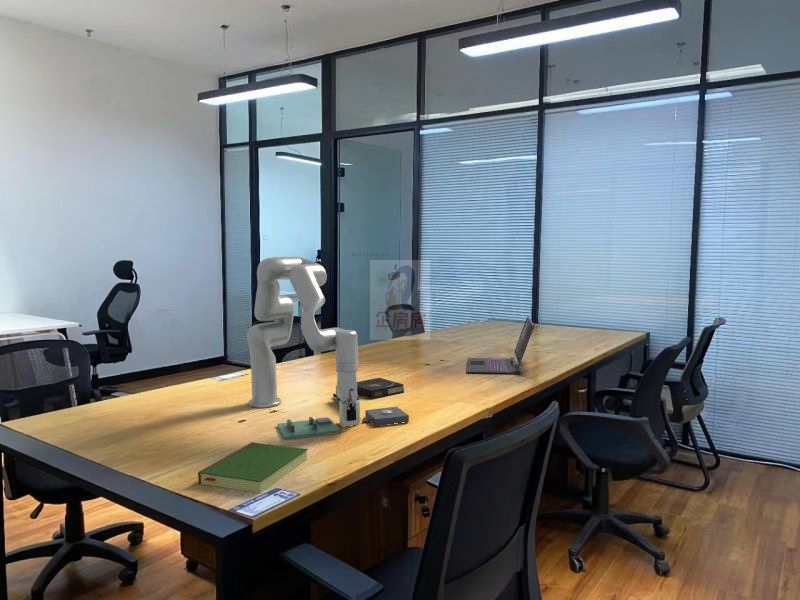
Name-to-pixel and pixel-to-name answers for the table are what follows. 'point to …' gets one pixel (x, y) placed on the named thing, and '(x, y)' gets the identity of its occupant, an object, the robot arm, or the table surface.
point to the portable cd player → (378, 388)
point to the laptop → (503, 364)
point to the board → (307, 428)
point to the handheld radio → (339, 398)
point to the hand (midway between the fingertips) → (348, 416)
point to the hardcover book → (253, 467)
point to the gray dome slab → (386, 416)
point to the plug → (343, 414)
